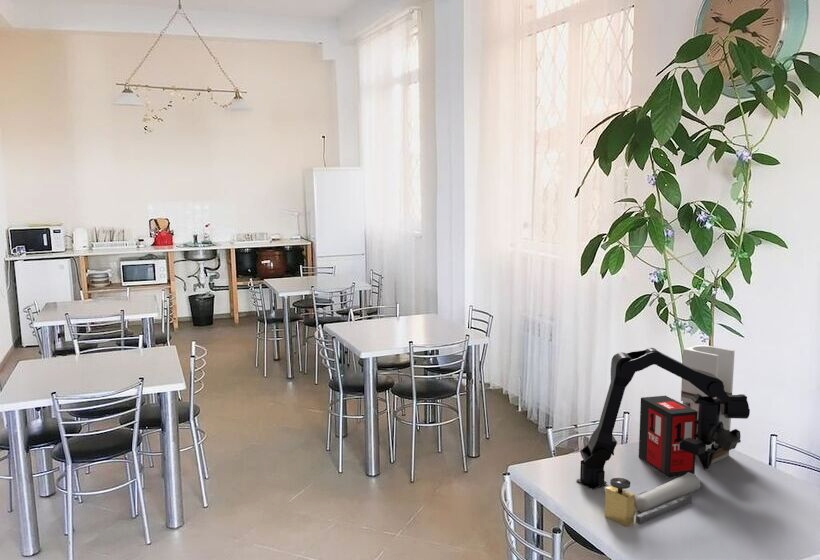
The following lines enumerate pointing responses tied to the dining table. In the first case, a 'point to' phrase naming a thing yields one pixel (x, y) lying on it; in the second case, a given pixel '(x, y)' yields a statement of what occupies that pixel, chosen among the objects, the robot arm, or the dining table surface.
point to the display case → (716, 364)
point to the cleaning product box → (666, 435)
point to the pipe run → (623, 504)
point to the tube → (667, 492)
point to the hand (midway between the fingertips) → (706, 469)
